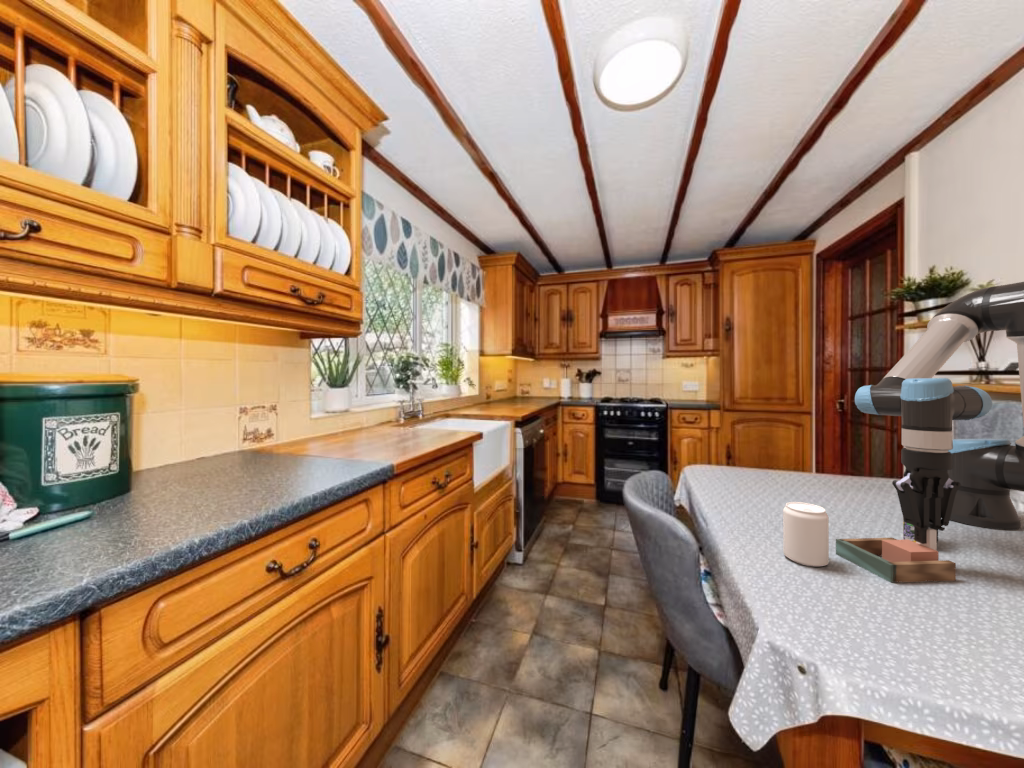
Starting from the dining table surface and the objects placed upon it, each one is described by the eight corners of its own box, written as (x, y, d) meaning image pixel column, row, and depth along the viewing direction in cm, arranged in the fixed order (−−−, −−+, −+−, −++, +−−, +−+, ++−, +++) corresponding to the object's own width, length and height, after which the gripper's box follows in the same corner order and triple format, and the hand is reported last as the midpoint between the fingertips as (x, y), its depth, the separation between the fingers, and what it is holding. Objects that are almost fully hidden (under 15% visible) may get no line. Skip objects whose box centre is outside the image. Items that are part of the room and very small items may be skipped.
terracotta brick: (907, 559, 86) (907, 539, 86) (938, 572, 80) (938, 551, 80) (882, 560, 85) (882, 540, 85) (910, 573, 79) (910, 552, 79)
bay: (892, 552, 89) (892, 537, 89) (955, 580, 76) (955, 563, 76) (835, 554, 88) (835, 539, 88) (890, 582, 76) (890, 565, 76)
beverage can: (819, 554, 88) (819, 503, 88) (835, 571, 81) (835, 514, 81) (778, 549, 91) (778, 499, 91) (790, 565, 83) (790, 511, 83)
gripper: (935, 445, 86) (935, 549, 87) (879, 446, 86) (879, 550, 86) (976, 451, 79) (976, 565, 79) (915, 453, 78) (916, 566, 79)
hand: (926, 557), depth 83 cm, fingers closed
